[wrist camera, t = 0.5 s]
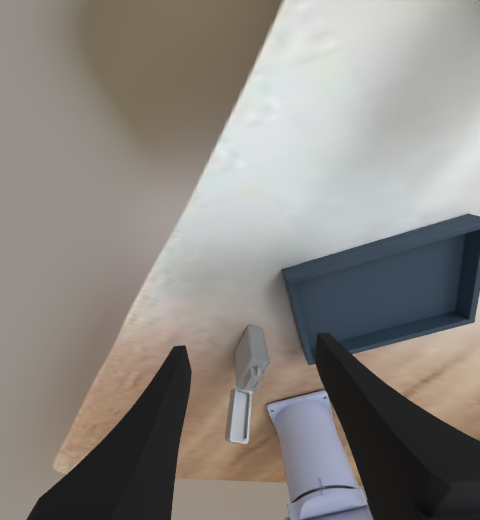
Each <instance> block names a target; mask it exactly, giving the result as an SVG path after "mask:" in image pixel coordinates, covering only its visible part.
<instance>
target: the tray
mask: <svg viewBox="0 0 480 520" xmlns="http://www.w3.org/2000/svg"><path fill="white" fill-rule="evenodd" d="M282 273H283V277H284V280H285V284H286V288H287V292H288V296H289V299H290V303H291V307H292V311H293V315H294V318H295V322H296V326H297V330H298V334H299V338H300V341H301V345H302V349H303V352H304V355H305V357H306V360H307V363H308V365H312V364H316V363H315V351H316V340H317V333H326V332H329V333H330V334H331V335H332V336H333V337H334V338H335V339H336V340H337V341H338V342H339V343H340V344H341V345H342V346H343V347H344V348H345V349H346V350H347V351H348V352H350V353H351V354H354V353H358V352H362V351H366V350H370V349H374V348H378V347H381V346H385V345H389V344H393V343H397V342H401V341H405V340H408V339H412V338H416V337H420V336H424V335H428V334H431V333H435V332H439V331H443V330H447V329H451V328H455V327H458V326H462V325H466V324H470V323H474V321H475V315H476V310H477V304H478V298H479V293H480V216H475V215H472V214H467V215H464V216H460V217H457V218H454V219H450V220H447V221H443V222H440V223H437V224H433V225H430V226H427V227H423V228H420V229H416V230H413V231H410V232H406V233H403V234H400V235H396V236H393V237H390V238H386V239H383V240H379V241H376V242H373V243H369V244H366V245H363V246H359V247H356V248H352V249H349V250H346V251H342V252H339V253H336V254H332V255H329V256H326V257H322V258H319V259H315V260H312V261H309V262H305V263H302V264H299V265H295V266H292V267H288V268H285V269H282Z"/></svg>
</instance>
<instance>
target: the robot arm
mask: <svg viewBox="0 0 480 520" xmlns="http://www.w3.org/2000/svg"><path fill="white" fill-rule="evenodd" d="M315 363H316V366H317V369H318V372H319V375H320V378H321V381H322V383H323V385H324V388H325V390H326V391H325V390H322V391H318V392H314V393H310V394H306V395H302V396H298V397H294V398H290V399H286V400H282V401H278V402H274V403H270V404H268V405H267V410H268V412H269V415H270V417H271V419H272V422H273V424H274V426H275V429H276V431H277V434H278V436H279V441H280V446H281V452H282V457H283V463H284V468H285V474H286V479H287V485H288V489H289V495H290V500H291V504H288V505H287V506H288V513H289V517H287V518H285V519H284V520H480V441H478V440H476V439H474V438H472V437H470V436H468V435H467V434H465V433H463V432H461V431H459V430H457V429H456V428H454V427H452V426H450V425H449V424H447V423H445V422H443V421H442V420H440V419H438V418H437V417H435V416H433V415H432V414H430V413H428V412H427V411H425V410H424V409H422V408H421V407H419V406H417V405H416V404H414V403H413V402H411V401H410V400H408V399H407V398H405V397H404V396H402V395H401V394H400V393H398V392H397V391H396V390H394V389H393V388H391V387H390V386H389V385H387V384H386V383H385V382H383V381H382V380H381V379H380V378H378V377H377V376H376V375H375V374H373V373H372V372H371V371H370V370H369V369H367V368H366V367H365V366H364V365H363V364H362V363H361V362H359V361H358V360H357V359H356V358H355V357H354V356H353V355H352V354H351V353H350V352H348V351H347V350H346V349H345V348H344V347H343V346H342V345H341V344H340V343H339V342H338V341H337V340H336V339H335V338H334V337H333V336H332V335H331V334H330V333H329V332H326V333H317V340H316V351H315ZM191 373H192V372H191V367H190V363H189V359H188V354H187V350H186V346H174V347H173V348H172V350H171V352H170V353H169V355H168V357H167V358H166V360H165V361H164V363H163V365H162V366H161V368H160V369H159V371H158V372H157V374H156V375H155V377H154V378H153V380H152V381H151V383H150V384H149V385H148V387H147V388H146V389H145V391H144V392H143V394H142V395H141V396H140V398H139V399H138V400H137V401H136V403H135V404H134V405H133V407H132V408H131V409H130V410H129V411H128V413H127V414H126V415H125V416H124V417H123V418H122V420H121V421H120V422H119V423H118V424H117V425H116V426H115V427H114V428H113V430H112V431H111V432H110V433H109V434H108V435H107V436H106V437H105V438H104V439H103V440H102V441H101V442H100V443H99V444H98V445H97V446H96V447H95V448H94V449H93V450H92V451H91V452H90V453H89V454H88V455H87V456H86V457H85V458H84V459H83V460H82V461H81V462H80V463H79V464H78V465H77V466H76V467H75V468H74V469H72V470H71V471H70V472H69V473H68V474H67V475H66V476H64V477H63V478H62V479H61V480H60V481H59V482H58V483H56V484H55V485H54V486H53V487H52V488H51V489H50V490H48V492H46V493H45V494H44V495H43V496H41V497H40V498H39V500H38V501H37V503H36V505H35V506H34V508H33V509H32V511H31V513H30V514H29V516H28V518H27V520H171V510H172V501H173V491H174V481H175V473H176V465H177V457H178V449H179V443H180V437H181V432H182V428H183V423H184V418H185V413H186V408H187V403H188V398H189V393H190V384H191ZM328 396H329V397H328ZM329 399H330V401H331V403H332V405H333V407H334V410H335V412H336V414H337V416H338V418H339V420H340V423H341V425H342V427H343V430H344V432H345V435H346V438H347V440H348V443H349V446H350V449H351V451H352V454H353V457H354V460H355V463H356V466H357V469H358V472H359V475H360V477H361V480H362V483H363V486H364V490H365V492H366V496H367V502H368V505H367V503H366V500H365V497H364V495H363V492H362V490H361V488H359V487H358V484H357V482H356V479H355V477H354V474H353V472H352V469H351V466H350V464H349V461H348V459H347V456H346V454H345V451H344V449H343V446H342V444H341V441H340V439H339V436H338V434H337V431H336V429H335V424H334V420H333V415H332V411H331V406H330V402H329ZM368 506H369V507H368ZM370 511H371V512H370Z"/></svg>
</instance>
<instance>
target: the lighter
mask: <svg viewBox="0 0 480 520" xmlns="http://www.w3.org/2000/svg"><path fill="white" fill-rule="evenodd" d="M235 363H236V386H237V387H236V388H234V389H233V390H231V395H230V403H229V411H228V418H227V426H226V434H225V440H226V442H232V443H238V444H247V443H248V442H249V429H250V416H251V402H252V391H256V389H257V388H258V386H259V384H260V383H261V381H262V380H263V379H262V374H263V372H264V371H265V369H266V367H267V366H268V364H269V358H268V353H267V348H266V343H265V338H264V333H263V329H262V328H259V327H256V326H252V325H248V327H247V329H246V330H245V332H244V334H243V336H242V338H241V340H240V342H239V344H238V346H237V348H236V350H235Z"/></svg>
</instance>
